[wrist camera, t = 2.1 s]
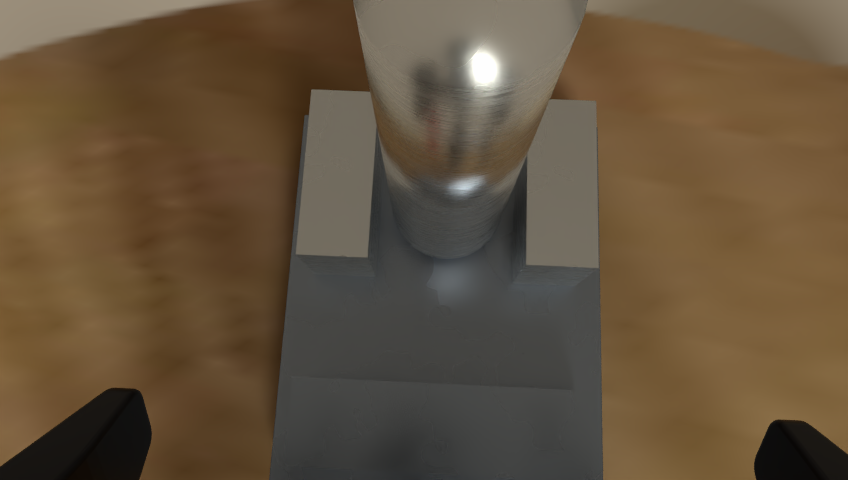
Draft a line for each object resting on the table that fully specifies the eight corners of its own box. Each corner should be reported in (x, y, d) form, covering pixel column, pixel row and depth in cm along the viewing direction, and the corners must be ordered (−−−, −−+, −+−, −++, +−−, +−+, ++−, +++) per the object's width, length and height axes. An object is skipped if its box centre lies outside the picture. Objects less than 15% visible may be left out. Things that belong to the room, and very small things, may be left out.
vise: (587, 493, 21) (634, 521, 16) (282, 478, 21) (240, 501, 17) (583, 148, 24) (622, 86, 19) (314, 137, 24) (286, 72, 19)
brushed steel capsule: (500, 261, 21) (590, 94, 9) (389, 256, 21) (342, 84, 10) (504, 93, 22) (586, -233, 11) (399, 89, 23) (369, -241, 11)
